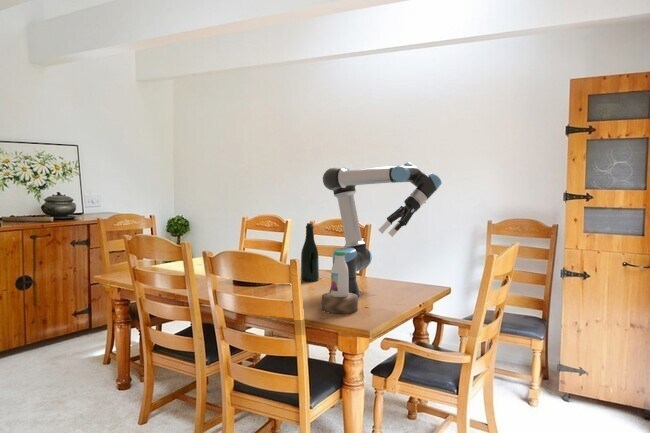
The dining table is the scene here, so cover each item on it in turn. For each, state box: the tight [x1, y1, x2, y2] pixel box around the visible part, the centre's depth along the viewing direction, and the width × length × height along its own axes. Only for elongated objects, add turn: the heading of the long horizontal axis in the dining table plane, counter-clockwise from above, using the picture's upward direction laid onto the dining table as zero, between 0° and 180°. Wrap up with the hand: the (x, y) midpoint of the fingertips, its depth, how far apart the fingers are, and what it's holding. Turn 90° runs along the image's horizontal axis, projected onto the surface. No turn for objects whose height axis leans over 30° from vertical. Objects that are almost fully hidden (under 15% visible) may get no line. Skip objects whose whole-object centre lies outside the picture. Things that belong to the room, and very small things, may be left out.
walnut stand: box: [321, 292, 359, 315], centre depth 222 cm, size 16×16×6 cm
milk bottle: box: [330, 250, 349, 297], centre depth 221 cm, size 8×8×20 cm
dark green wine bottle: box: [300, 222, 320, 282], centre depth 285 cm, size 10×10×33 cm
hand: (384, 233), depth 233 cm, fingers open, 13 cm apart
